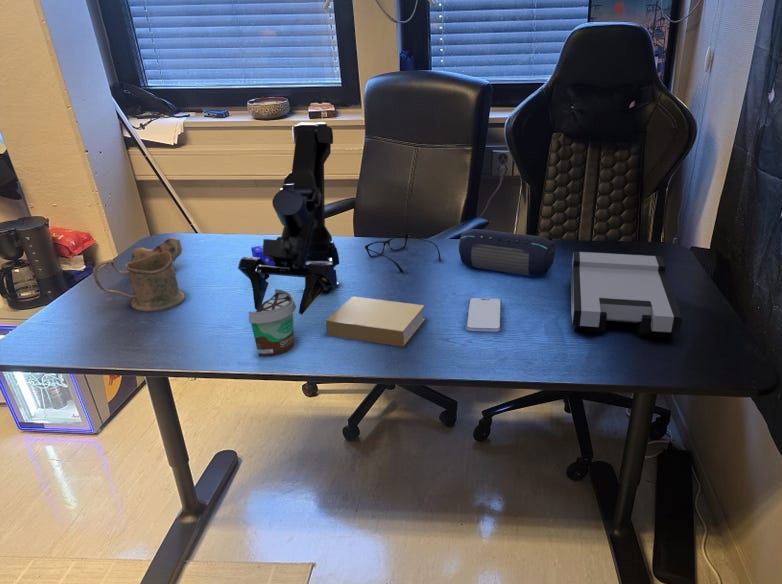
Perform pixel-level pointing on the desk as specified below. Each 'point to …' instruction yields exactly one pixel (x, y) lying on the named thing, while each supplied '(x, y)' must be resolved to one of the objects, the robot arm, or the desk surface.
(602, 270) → the game console
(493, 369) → the desk surface
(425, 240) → the eyeglasses
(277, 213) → the robot arm
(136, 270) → the mug
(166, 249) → the lion figurine
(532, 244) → the portable speaker
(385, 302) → the book
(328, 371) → the desk surface
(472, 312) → the smartphone
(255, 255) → the die
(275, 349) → the food container
